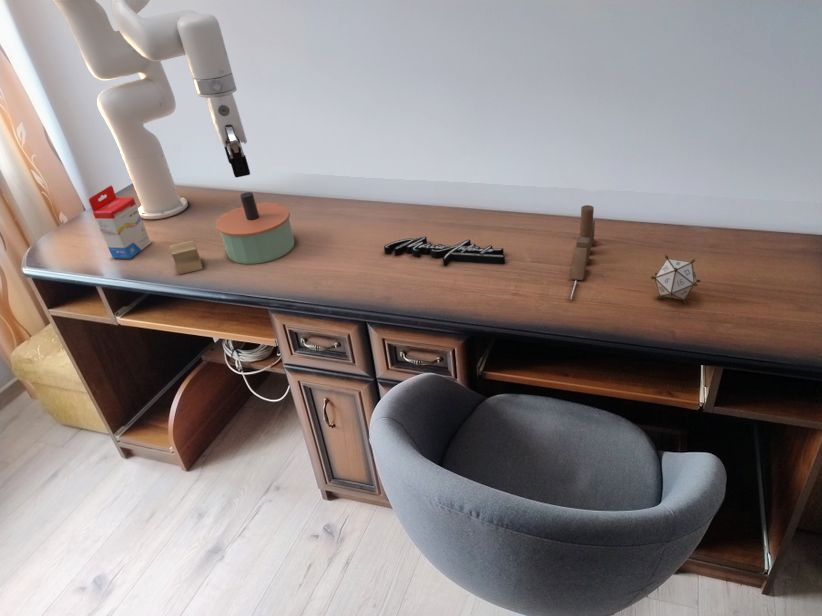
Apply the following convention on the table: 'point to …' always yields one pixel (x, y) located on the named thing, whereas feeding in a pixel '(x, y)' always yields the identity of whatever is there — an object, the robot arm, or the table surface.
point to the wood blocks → (583, 244)
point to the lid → (252, 217)
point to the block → (186, 257)
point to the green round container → (260, 245)
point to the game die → (675, 279)
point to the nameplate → (447, 251)
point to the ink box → (119, 224)
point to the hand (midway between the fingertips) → (239, 168)
